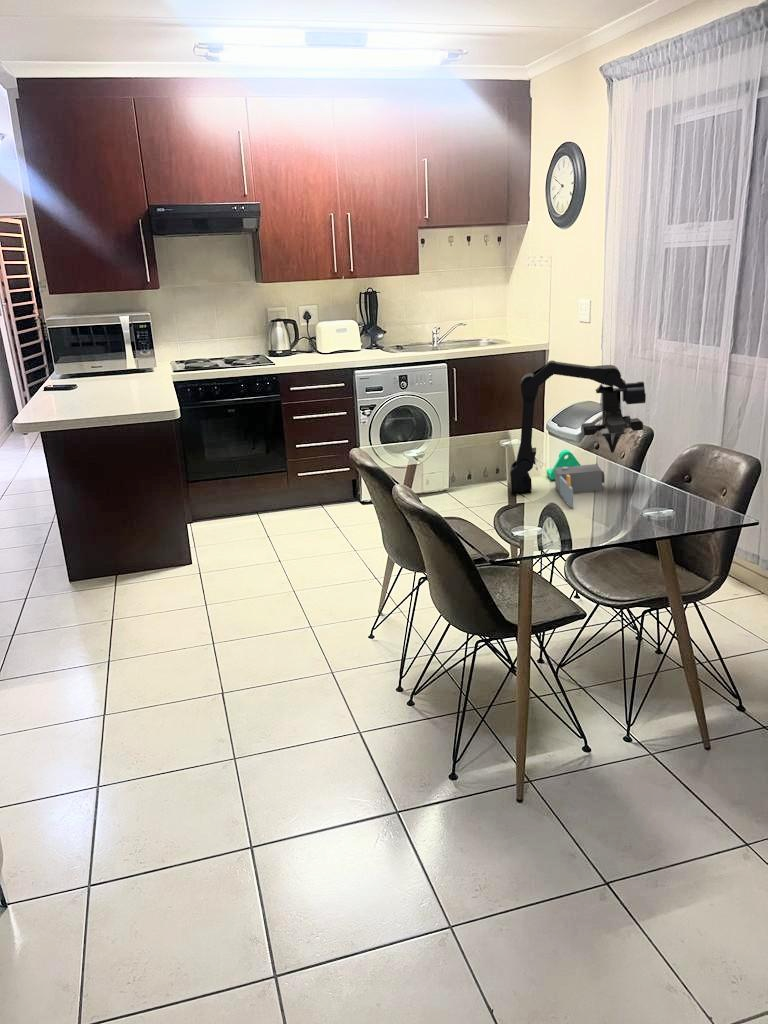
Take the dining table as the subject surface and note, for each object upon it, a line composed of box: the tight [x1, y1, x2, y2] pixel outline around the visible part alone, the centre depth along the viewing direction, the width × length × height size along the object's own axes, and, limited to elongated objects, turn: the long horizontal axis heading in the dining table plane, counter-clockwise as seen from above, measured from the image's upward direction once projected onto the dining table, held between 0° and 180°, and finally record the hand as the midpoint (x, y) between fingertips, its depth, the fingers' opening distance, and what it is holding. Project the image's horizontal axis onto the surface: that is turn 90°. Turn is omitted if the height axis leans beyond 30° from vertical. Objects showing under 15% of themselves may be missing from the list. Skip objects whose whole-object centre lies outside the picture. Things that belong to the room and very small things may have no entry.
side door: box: [558, 475, 574, 508], centre depth 240 cm, size 14×1×10 cm, turn 2°
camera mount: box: [546, 449, 581, 480], centre depth 264 cm, size 12×8×10 cm, turn 91°
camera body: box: [554, 463, 606, 494], centre depth 250 cm, size 15×8×8 cm, turn 86°
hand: (612, 452), depth 245 cm, fingers closed
